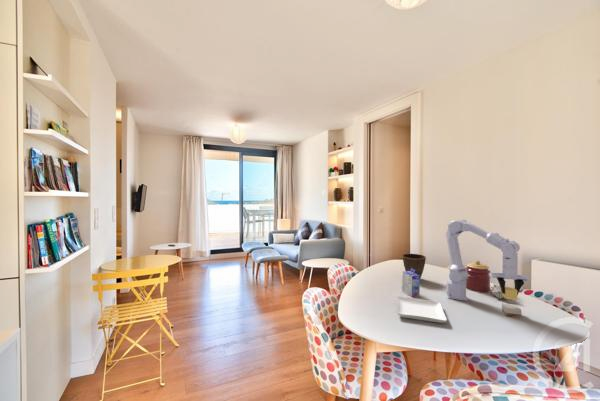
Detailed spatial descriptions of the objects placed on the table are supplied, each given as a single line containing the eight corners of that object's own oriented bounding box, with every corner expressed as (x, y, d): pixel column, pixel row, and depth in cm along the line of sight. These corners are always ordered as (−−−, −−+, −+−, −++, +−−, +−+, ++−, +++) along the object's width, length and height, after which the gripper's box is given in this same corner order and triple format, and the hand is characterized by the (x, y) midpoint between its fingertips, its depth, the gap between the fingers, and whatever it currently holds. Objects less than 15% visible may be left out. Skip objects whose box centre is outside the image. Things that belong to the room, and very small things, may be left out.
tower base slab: (505, 317, 124) (505, 312, 124) (501, 311, 130) (501, 307, 130) (521, 319, 122) (521, 314, 122) (516, 314, 127) (516, 309, 127)
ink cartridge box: (420, 296, 149) (420, 271, 148) (411, 297, 148) (411, 272, 147) (409, 290, 158) (409, 266, 158) (401, 291, 157) (401, 267, 157)
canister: (493, 289, 158) (494, 261, 158) (484, 294, 151) (485, 264, 151) (470, 283, 169) (470, 256, 169) (461, 287, 162) (461, 259, 161)
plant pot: (413, 283, 169) (413, 259, 169) (397, 277, 183) (397, 254, 183) (430, 281, 175) (430, 257, 174) (413, 274, 188) (413, 252, 188)
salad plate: (447, 327, 115) (448, 319, 115) (396, 319, 122) (397, 312, 122) (440, 307, 135) (440, 301, 135) (396, 302, 142) (396, 296, 142)
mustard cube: (505, 298, 125) (505, 289, 125) (502, 295, 129) (502, 286, 129) (517, 299, 123) (517, 290, 123) (513, 296, 127) (513, 287, 127)
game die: (504, 306, 144) (516, 296, 138) (488, 299, 145) (499, 289, 139) (499, 293, 151) (511, 283, 145) (484, 287, 152) (495, 277, 146)
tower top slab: (505, 312, 124) (505, 308, 124) (501, 307, 130) (501, 303, 130) (521, 314, 122) (521, 310, 122) (516, 309, 127) (516, 305, 127)
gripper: (494, 266, 125) (494, 294, 125) (532, 270, 119) (532, 299, 120) (490, 263, 132) (490, 289, 132) (526, 266, 126) (525, 293, 126)
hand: (509, 293), depth 126 cm, fingers closed on mustard cube, 4 cm apart
